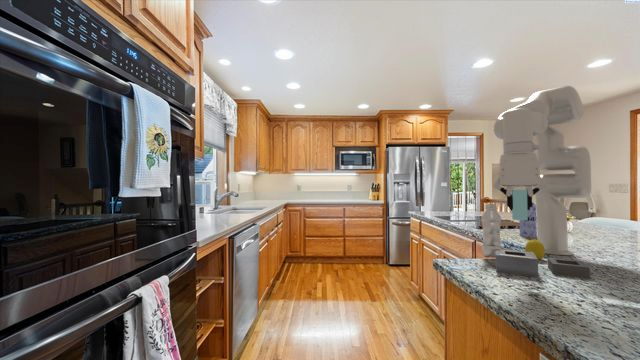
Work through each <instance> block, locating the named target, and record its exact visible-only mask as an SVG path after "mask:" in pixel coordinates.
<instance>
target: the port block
mask: <svg viewBox="0 0 640 360" xmlns="http://www.w3.org/2000/svg"><path fill="white" fill-rule="evenodd" d="M495 254H496V257H495V271H496V273H502V274H508V275H515V276H517V275H518V276H523V277H524V276H525V277H532V278H539V260H538V259H537V257H536V256H535V254H534V253H533V252H525V250H523V251H522V250H512V249H504V248H503V249H495Z"/></svg>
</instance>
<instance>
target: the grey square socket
mask: <svg viewBox="0 0 640 360" xmlns="http://www.w3.org/2000/svg"><path fill="white" fill-rule="evenodd" d="M547 268H548V269H549V271H550V272H551V274H552V275H556V276H557V275H558V276H566V277H574V278H582V279H589V280H590V279H591V269H590V268H591V267H589V266H588V265H587V264H586V263H585V262H583V261H582V260H576V259H575V260H574V259H564V258H555V257H547Z"/></svg>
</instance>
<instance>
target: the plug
mask: <svg viewBox="0 0 640 360" xmlns="http://www.w3.org/2000/svg"><path fill="white" fill-rule="evenodd" d="M511 194H512V197H513V209H512V210H511V219H512V220H514V221H515V220H516V221H519V220H528V213H527V190H526V186H512V191H511Z"/></svg>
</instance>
